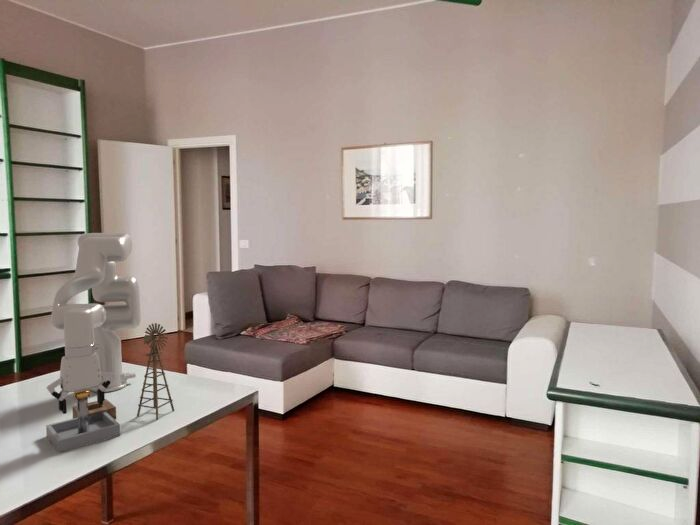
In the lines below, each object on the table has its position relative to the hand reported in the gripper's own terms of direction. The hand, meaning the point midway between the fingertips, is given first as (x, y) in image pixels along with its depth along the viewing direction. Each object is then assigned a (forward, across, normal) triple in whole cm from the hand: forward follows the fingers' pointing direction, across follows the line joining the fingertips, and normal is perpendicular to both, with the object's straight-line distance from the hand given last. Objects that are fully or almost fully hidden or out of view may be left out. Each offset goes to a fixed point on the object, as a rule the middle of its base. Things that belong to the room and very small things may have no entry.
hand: (82, 407), depth 141 cm
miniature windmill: (+9, -22, -2) cm, 24 cm away
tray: (+8, 0, 0) cm, 8 cm away
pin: (+8, 0, 0) cm, 8 cm away
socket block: (+8, -6, -11) cm, 15 cm away
